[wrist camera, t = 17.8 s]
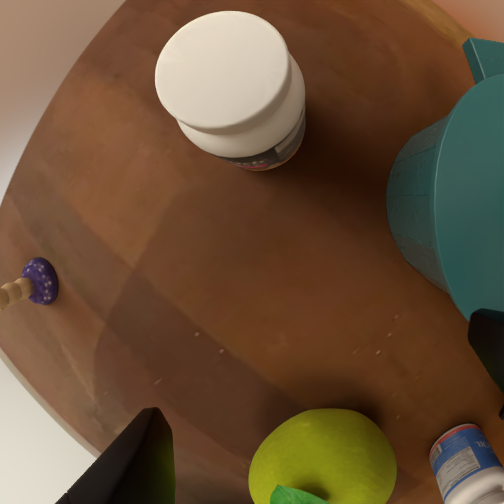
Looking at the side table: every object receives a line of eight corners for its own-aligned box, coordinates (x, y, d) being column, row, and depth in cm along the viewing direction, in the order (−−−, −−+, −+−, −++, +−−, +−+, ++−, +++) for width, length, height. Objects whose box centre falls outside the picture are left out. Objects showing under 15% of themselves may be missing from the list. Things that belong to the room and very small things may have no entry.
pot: (492, 88, 15) (559, 50, 7) (516, 304, 17) (583, 347, 9) (362, 89, 17) (393, 24, 9) (395, 333, 19) (437, 406, 11)
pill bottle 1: (202, 153, 20) (116, 120, 10) (235, 75, 18) (180, -9, 9) (285, 185, 19) (264, 171, 9) (319, 103, 18) (328, 20, 8)
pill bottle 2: (486, 437, 19) (524, 505, 10) (441, 470, 20) (465, 543, 11) (468, 411, 19) (513, 488, 10) (418, 449, 20) (444, 533, 11)
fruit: (333, 357, 20) (345, 464, 10) (401, 427, 20) (429, 522, 11) (239, 421, 22) (203, 519, 13) (312, 478, 22) (305, 568, 13)
